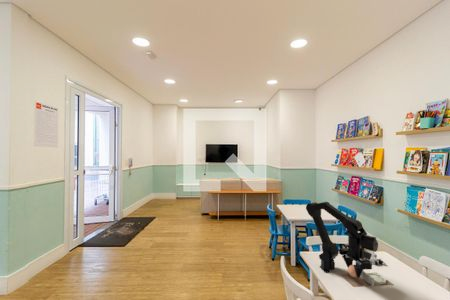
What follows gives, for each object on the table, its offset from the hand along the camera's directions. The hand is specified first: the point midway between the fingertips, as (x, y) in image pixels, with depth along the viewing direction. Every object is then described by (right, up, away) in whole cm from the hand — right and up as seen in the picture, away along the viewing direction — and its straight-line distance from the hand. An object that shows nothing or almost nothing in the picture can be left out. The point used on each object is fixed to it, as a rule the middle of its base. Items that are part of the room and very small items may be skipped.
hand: (354, 274), depth 120 cm
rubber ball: (0, +2, 0) cm, 2 cm away
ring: (+12, -3, +1) cm, 12 cm away
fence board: (+6, -4, +1) cm, 8 cm away
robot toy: (+23, -5, +23) cm, 33 cm away
